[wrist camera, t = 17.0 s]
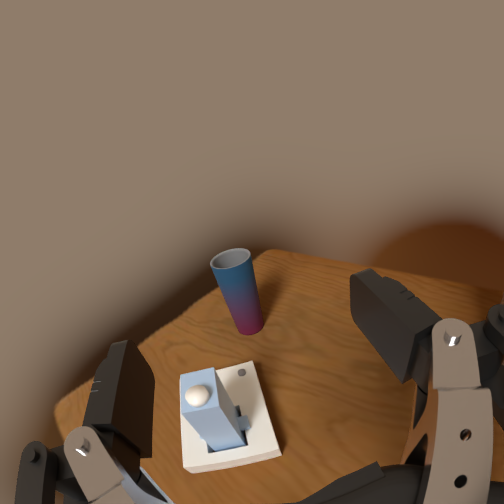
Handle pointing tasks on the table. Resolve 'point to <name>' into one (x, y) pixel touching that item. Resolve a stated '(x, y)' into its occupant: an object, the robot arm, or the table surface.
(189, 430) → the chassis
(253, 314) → the cup
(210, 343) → the table surface
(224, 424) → the block
